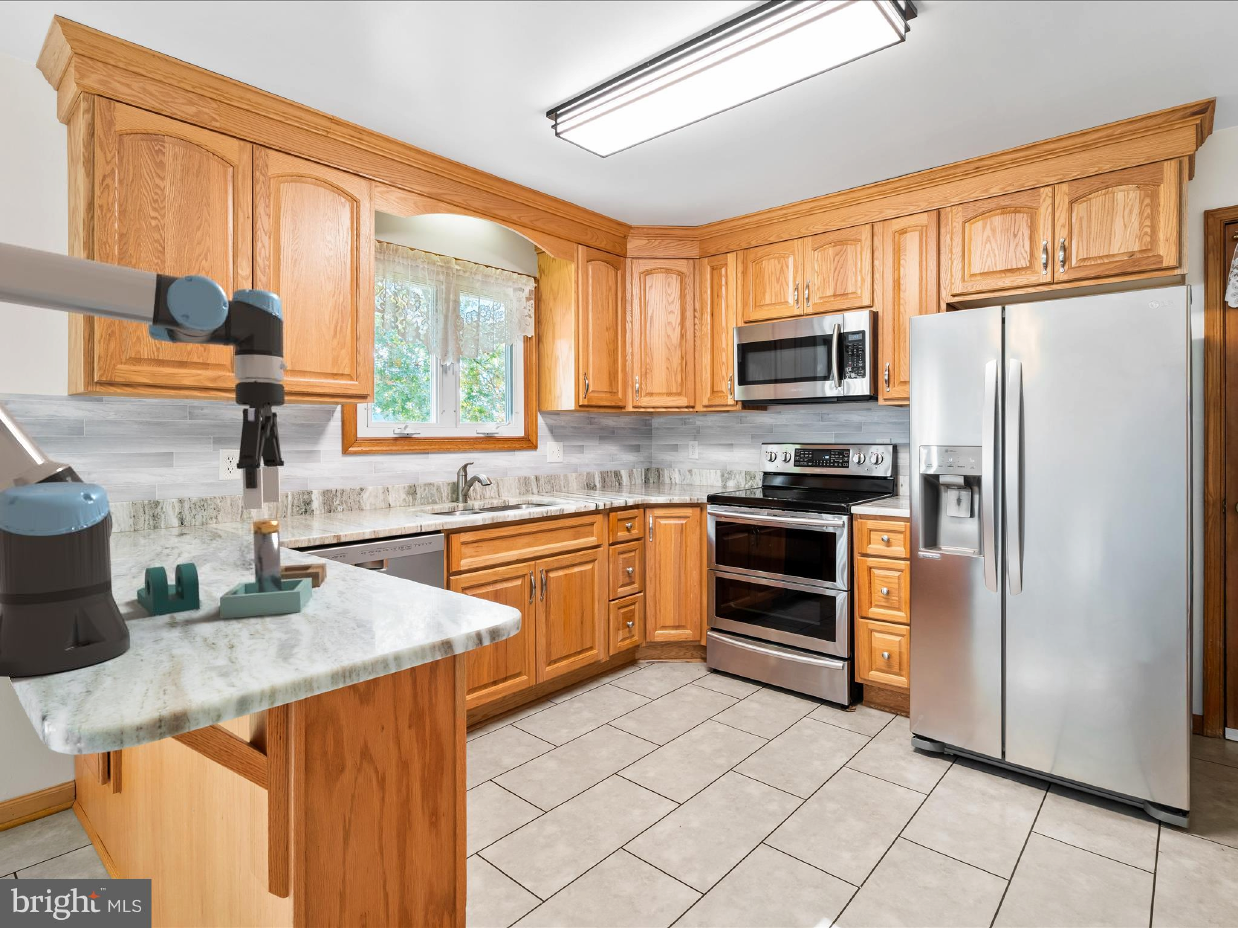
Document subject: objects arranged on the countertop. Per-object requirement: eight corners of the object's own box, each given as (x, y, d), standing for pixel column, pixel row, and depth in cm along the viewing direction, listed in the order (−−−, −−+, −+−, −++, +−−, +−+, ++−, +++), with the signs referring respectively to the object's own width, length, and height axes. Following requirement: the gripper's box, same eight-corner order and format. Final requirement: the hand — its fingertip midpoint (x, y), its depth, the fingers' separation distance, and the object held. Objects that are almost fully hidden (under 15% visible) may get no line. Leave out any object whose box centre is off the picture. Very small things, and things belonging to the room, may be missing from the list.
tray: (300, 611, 114) (299, 591, 114) (220, 618, 111) (219, 597, 110) (312, 596, 125) (311, 577, 125) (240, 602, 122) (239, 582, 122)
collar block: (319, 586, 134) (319, 571, 134) (263, 590, 131) (263, 575, 131) (326, 577, 144) (326, 562, 144) (274, 580, 141) (274, 566, 141)
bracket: (199, 609, 118) (197, 565, 118) (153, 617, 113) (151, 570, 113) (176, 594, 131) (175, 553, 131) (134, 600, 126) (132, 558, 126)
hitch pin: (253, 604, 115) (250, 523, 115) (259, 599, 119) (256, 520, 119) (279, 602, 117) (276, 521, 116) (283, 597, 120) (281, 519, 120)
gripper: (267, 375, 106) (271, 511, 106) (297, 388, 130) (299, 499, 130) (213, 374, 104) (217, 512, 104) (253, 388, 128) (256, 500, 128)
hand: (263, 505), depth 117 cm, fingers open, 13 cm apart
